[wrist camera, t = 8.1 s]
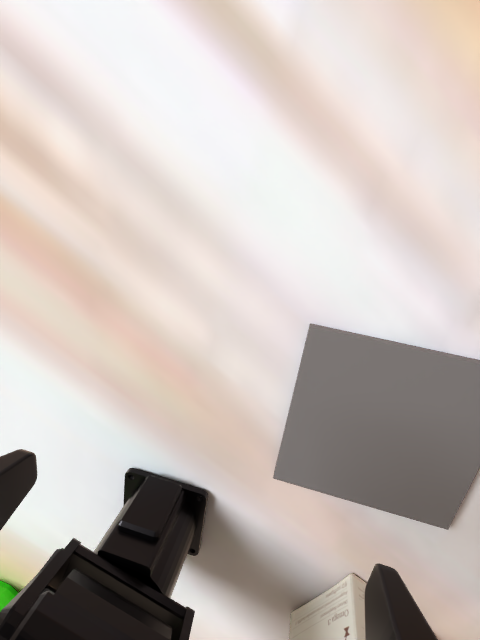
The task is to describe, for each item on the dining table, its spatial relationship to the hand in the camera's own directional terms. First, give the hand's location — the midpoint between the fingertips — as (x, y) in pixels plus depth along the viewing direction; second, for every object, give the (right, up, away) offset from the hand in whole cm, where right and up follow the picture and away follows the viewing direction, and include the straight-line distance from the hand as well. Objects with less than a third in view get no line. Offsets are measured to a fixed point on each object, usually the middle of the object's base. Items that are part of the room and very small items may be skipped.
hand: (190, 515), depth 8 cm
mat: (+10, -2, +12) cm, 15 cm away
